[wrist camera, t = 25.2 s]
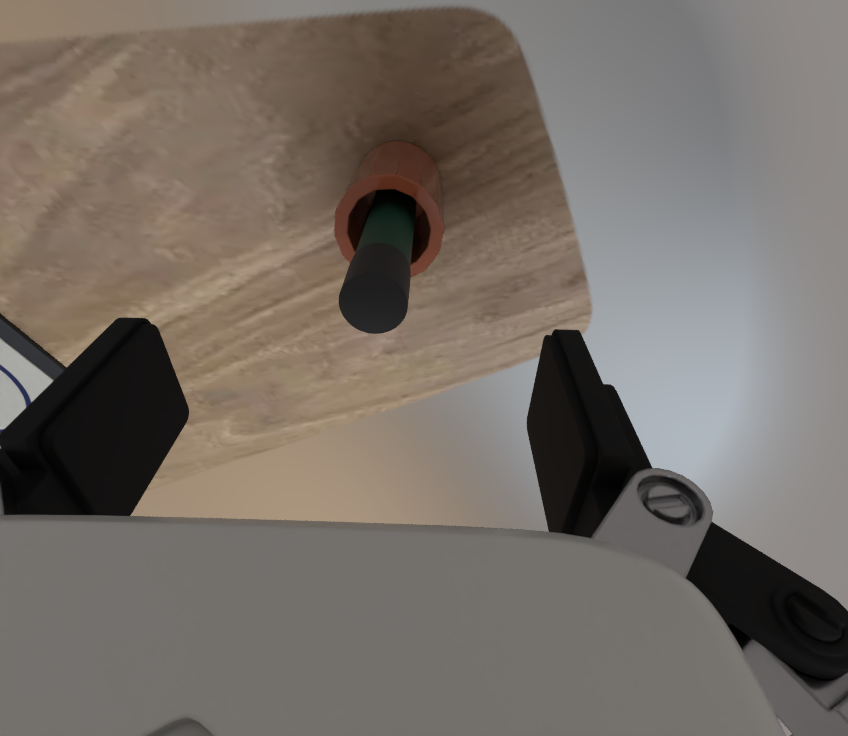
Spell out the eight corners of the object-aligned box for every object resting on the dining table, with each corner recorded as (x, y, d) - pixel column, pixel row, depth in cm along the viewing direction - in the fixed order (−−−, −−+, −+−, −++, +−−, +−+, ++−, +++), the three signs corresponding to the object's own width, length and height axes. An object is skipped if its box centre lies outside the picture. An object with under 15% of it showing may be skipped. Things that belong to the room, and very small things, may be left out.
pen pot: (338, 169, 26) (311, 210, 20) (415, 122, 25) (409, 152, 19) (384, 243, 28) (371, 298, 23) (456, 204, 27) (462, 252, 21)
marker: (369, 183, 26) (324, 292, 15) (405, 161, 25) (384, 260, 15) (390, 219, 27) (363, 344, 17) (425, 200, 26) (420, 317, 16)
